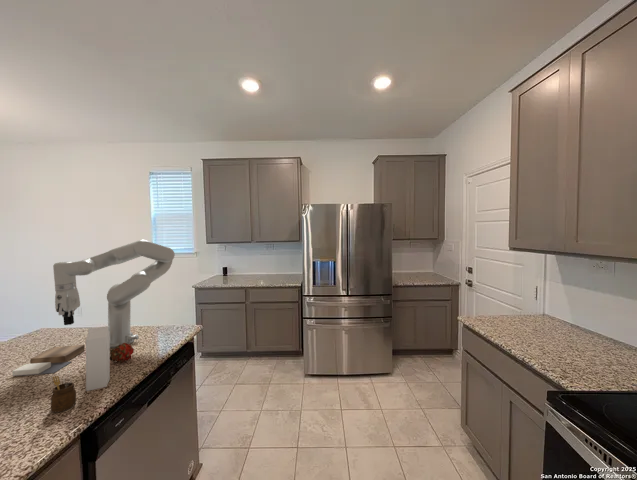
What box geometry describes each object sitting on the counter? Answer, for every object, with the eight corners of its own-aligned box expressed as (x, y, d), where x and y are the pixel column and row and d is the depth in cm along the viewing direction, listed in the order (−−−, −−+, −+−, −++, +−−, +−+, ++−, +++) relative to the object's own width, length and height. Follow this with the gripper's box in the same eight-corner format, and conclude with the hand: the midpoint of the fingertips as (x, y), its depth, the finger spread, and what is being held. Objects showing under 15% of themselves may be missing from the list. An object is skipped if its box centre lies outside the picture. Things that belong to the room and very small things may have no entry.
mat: (71, 362, 118) (71, 361, 118) (54, 373, 109) (54, 372, 109) (42, 364, 116) (42, 363, 116) (22, 376, 106) (22, 375, 106)
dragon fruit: (116, 371, 113) (122, 363, 124) (136, 355, 117) (140, 349, 128) (102, 357, 112) (109, 350, 123) (122, 341, 116) (127, 337, 126)
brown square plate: (84, 350, 131) (84, 344, 131) (65, 362, 118) (65, 356, 118) (53, 353, 128) (53, 346, 128) (30, 365, 115) (30, 358, 115)
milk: (106, 387, 98) (106, 328, 98) (85, 391, 96) (85, 331, 95) (109, 379, 104) (110, 323, 104) (89, 383, 101) (90, 326, 101)
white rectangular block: (38, 368, 108) (38, 373, 108) (50, 362, 114) (50, 366, 114) (12, 370, 106) (12, 375, 106) (26, 364, 112) (26, 368, 112)
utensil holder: (80, 401, 90) (80, 366, 90) (65, 412, 84) (65, 375, 84) (60, 402, 89) (60, 367, 89) (44, 415, 83) (44, 377, 83)
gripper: (64, 289, 121) (67, 328, 122) (84, 283, 136) (87, 318, 137) (44, 291, 120) (48, 330, 120) (67, 285, 134) (70, 320, 135)
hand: (69, 324), depth 129 cm, fingers closed
